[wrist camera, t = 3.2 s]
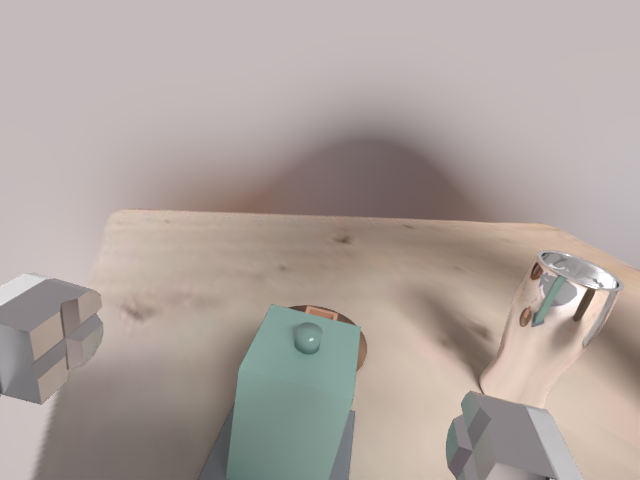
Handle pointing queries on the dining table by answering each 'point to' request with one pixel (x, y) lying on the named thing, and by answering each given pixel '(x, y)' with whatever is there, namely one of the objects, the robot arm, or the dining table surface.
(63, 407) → the dining table surface
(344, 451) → the mat
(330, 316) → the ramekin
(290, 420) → the teal knobbed box
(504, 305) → the dining table surface
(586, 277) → the shiny silver metal cup
